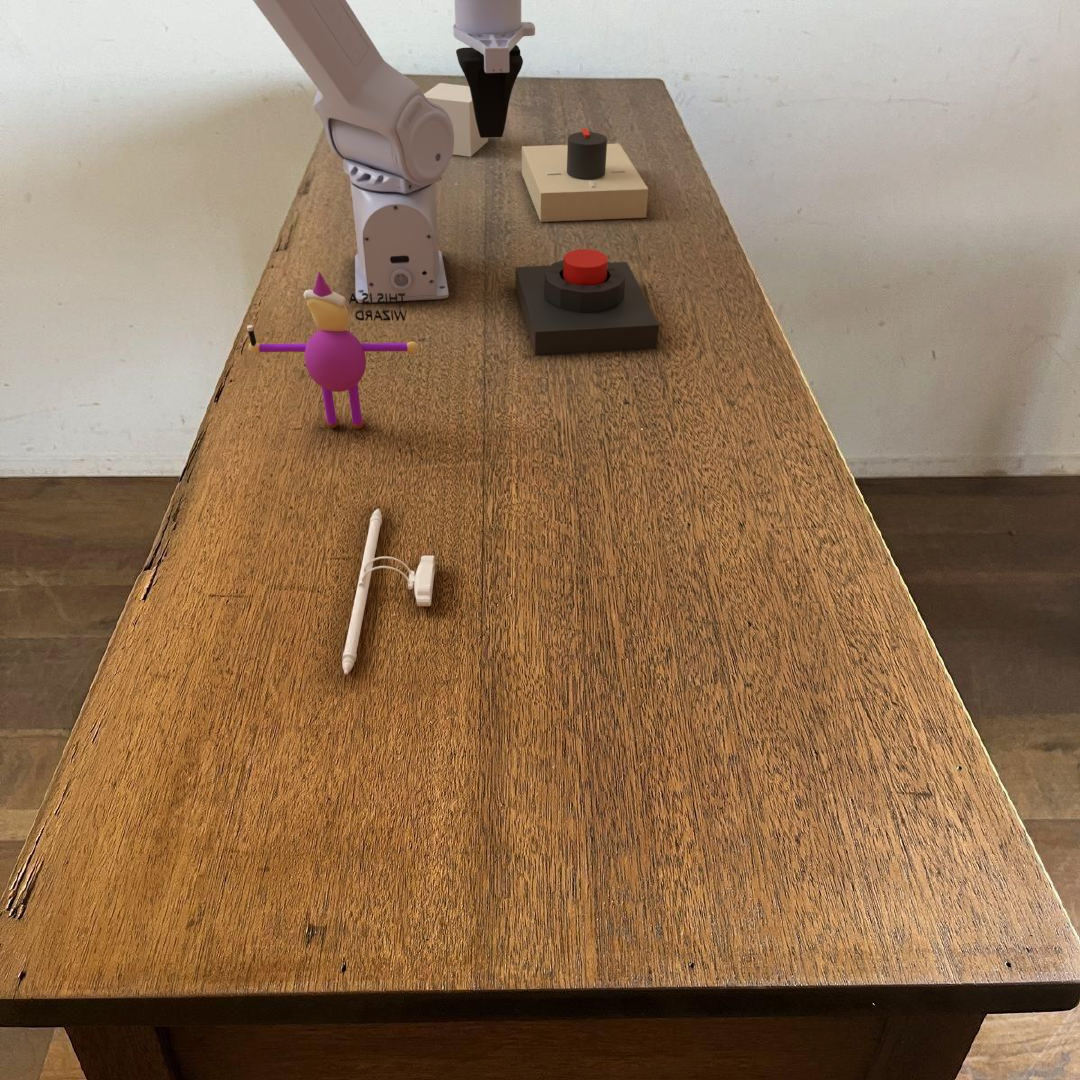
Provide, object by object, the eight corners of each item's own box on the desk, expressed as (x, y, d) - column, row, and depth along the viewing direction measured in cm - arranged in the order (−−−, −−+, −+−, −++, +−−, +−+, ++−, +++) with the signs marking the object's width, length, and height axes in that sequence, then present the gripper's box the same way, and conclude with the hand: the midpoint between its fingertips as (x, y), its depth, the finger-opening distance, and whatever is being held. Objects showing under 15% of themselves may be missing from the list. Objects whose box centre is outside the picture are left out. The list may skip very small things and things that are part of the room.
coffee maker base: (656, 349, 80) (661, 304, 77) (534, 356, 78) (535, 310, 76) (625, 284, 89) (628, 241, 86) (515, 290, 87) (515, 247, 85)
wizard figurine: (424, 418, 71) (414, 261, 63) (422, 443, 69) (411, 283, 61) (267, 419, 71) (238, 261, 63) (259, 444, 68) (227, 282, 61)
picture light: (372, 513, 62) (369, 487, 61) (441, 514, 63) (439, 488, 61) (339, 678, 52) (335, 650, 50) (422, 679, 52) (420, 651, 50)
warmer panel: (646, 217, 101) (648, 187, 99) (540, 222, 99) (540, 191, 97) (617, 170, 111) (619, 141, 109) (521, 173, 110) (521, 144, 108)
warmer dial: (608, 178, 101) (611, 140, 98) (570, 180, 100) (571, 142, 98) (600, 165, 104) (603, 128, 101) (563, 166, 103) (564, 129, 101)
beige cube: (470, 157, 114) (469, 102, 110) (422, 150, 115) (419, 96, 111) (488, 141, 118) (487, 87, 114) (442, 135, 120) (439, 82, 116)
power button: (610, 286, 80) (612, 266, 79) (567, 288, 80) (567, 268, 78) (601, 267, 83) (603, 247, 82) (559, 269, 82) (560, 249, 81)
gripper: (546, -15, 77) (544, 160, 86) (524, -50, 88) (524, 109, 97) (456, -13, 76) (463, 163, 85) (445, -49, 87) (452, 111, 96)
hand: (490, 135), depth 91 cm, fingers closed
